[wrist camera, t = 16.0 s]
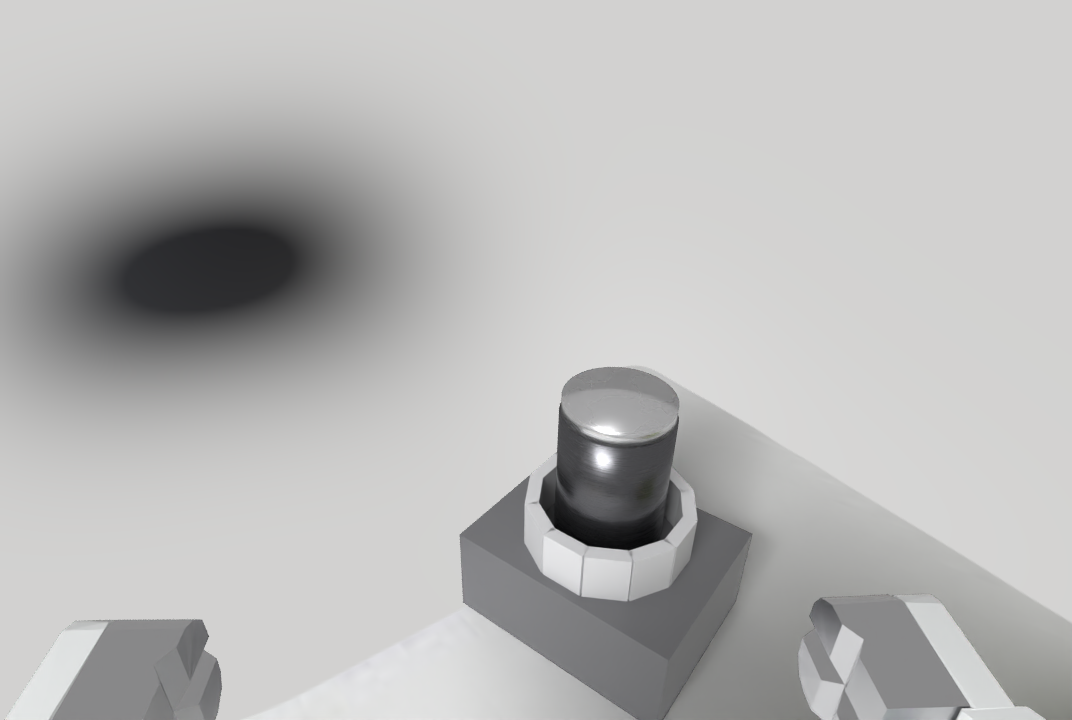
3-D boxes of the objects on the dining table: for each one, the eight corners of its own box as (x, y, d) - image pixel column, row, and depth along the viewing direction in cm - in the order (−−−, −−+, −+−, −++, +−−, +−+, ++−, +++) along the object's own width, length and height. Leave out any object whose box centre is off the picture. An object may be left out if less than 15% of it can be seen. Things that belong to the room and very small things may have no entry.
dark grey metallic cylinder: (532, 541, 40) (535, 402, 35) (590, 485, 45) (600, 354, 40) (625, 594, 37) (643, 450, 32) (677, 527, 42) (701, 391, 37)
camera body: (463, 602, 44) (457, 496, 39) (560, 509, 52) (565, 411, 47) (655, 731, 37) (676, 620, 32) (735, 600, 44) (761, 496, 40)
